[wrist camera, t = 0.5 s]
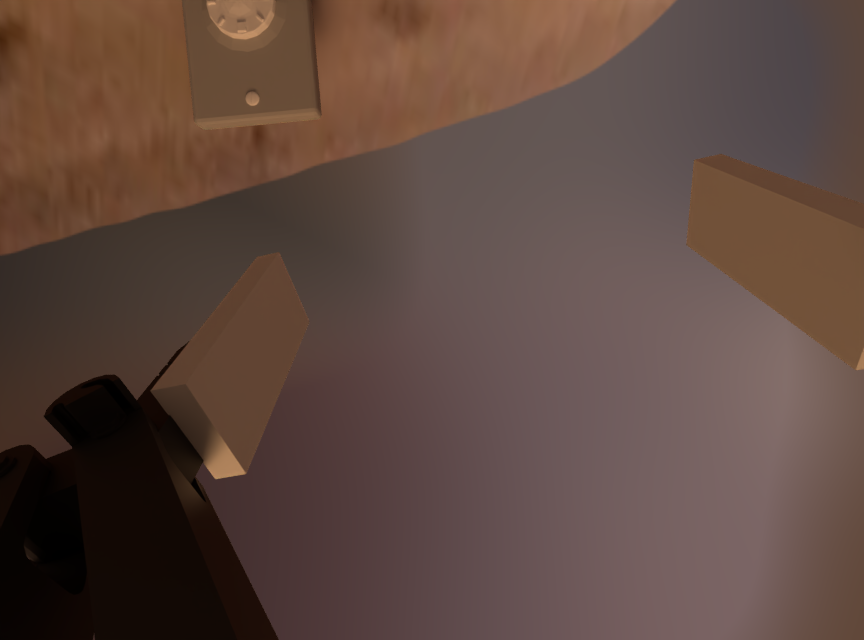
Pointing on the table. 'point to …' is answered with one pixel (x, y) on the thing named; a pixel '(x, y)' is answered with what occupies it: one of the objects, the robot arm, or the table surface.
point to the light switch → (251, 62)
